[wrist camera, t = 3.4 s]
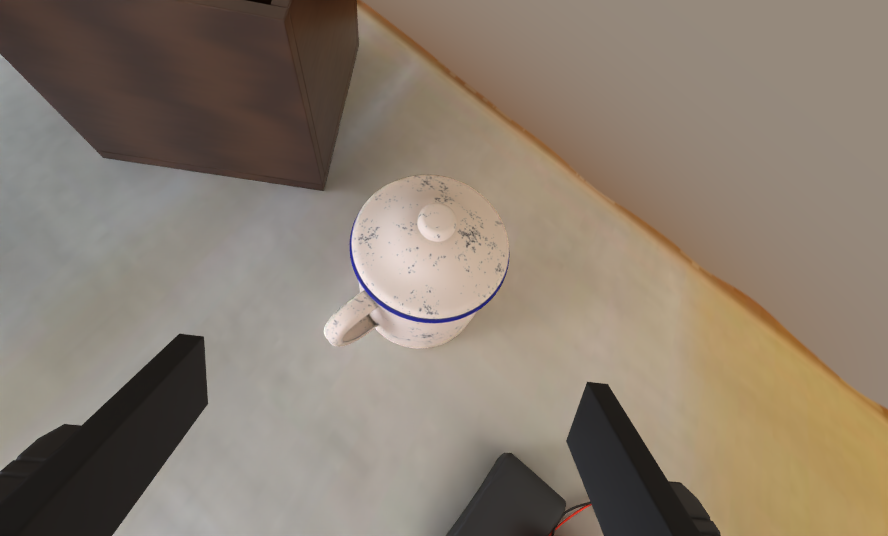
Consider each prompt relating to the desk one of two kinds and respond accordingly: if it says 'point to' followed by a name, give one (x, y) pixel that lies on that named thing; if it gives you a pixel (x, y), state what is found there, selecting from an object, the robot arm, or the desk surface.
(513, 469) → the multimeter
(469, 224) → the teacup with lid
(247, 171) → the chest
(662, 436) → the desk surface
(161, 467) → the robot arm
